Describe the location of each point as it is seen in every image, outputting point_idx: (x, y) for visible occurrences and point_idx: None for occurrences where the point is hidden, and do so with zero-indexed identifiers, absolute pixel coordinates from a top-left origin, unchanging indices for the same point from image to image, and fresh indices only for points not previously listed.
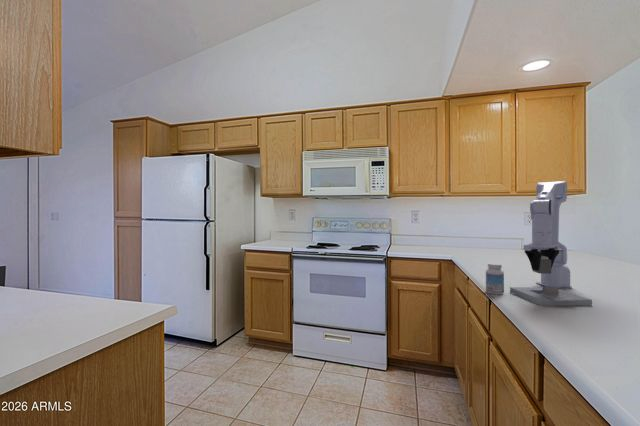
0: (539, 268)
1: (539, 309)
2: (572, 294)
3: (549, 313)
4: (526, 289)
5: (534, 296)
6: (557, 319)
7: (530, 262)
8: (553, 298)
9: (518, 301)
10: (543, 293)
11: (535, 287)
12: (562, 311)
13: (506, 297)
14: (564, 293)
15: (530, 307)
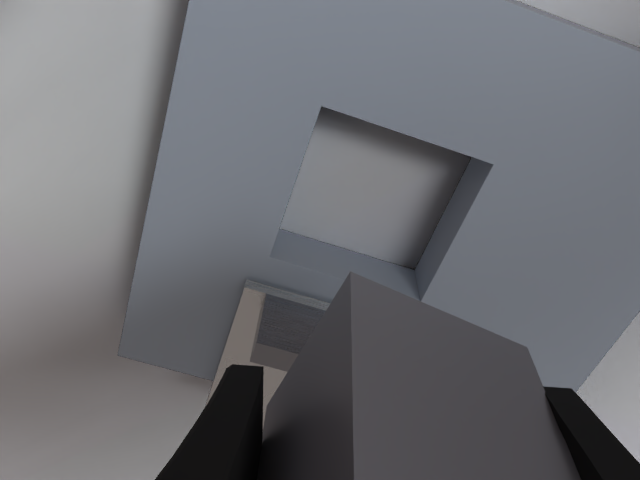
0: (263, 476)
1: (52, 360)
2: (572, 350)
3: (54, 417)
4: (332, 68)
5: (154, 279)
6: (14, 474)
7: (167, 470)
8: (207, 402)
9: (39, 188)
10: (261, 305)
11: (555, 37)
12: (176, 422)
13: (12, 48)
14: (547, 310)
15: (20, 316)
